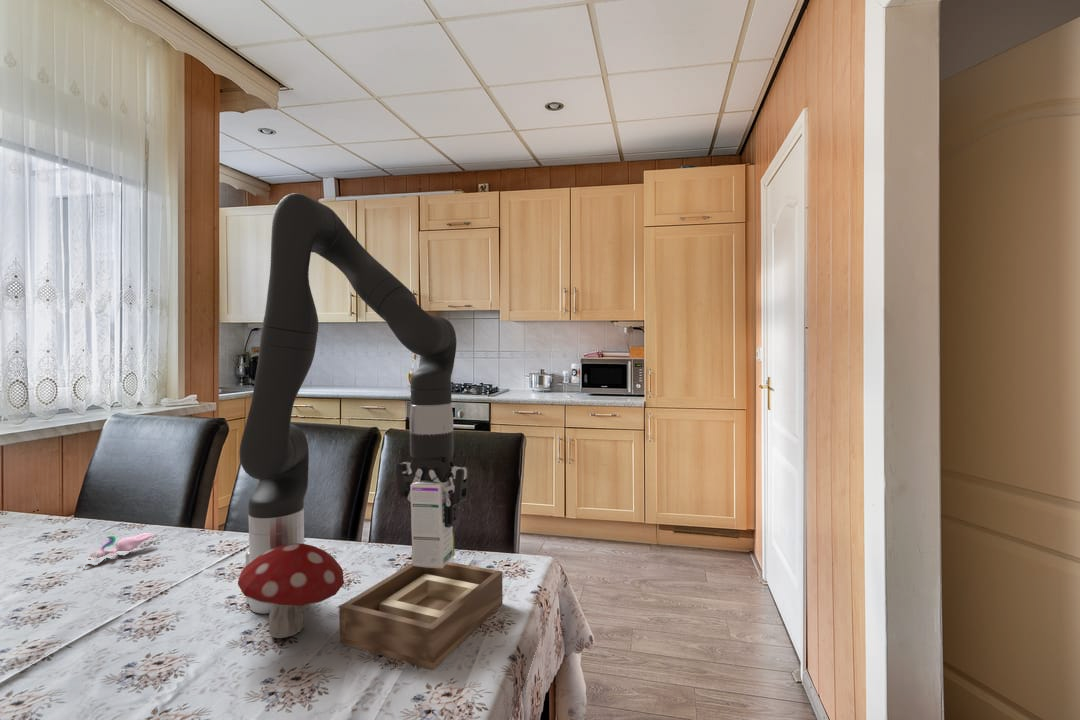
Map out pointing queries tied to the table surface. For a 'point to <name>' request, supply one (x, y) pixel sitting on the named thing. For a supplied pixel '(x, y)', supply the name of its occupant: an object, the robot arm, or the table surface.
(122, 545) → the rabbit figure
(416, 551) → the syrup box
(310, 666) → the table surface
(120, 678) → the table surface
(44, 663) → the table surface
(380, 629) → the crate
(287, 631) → the decorative mushroom
